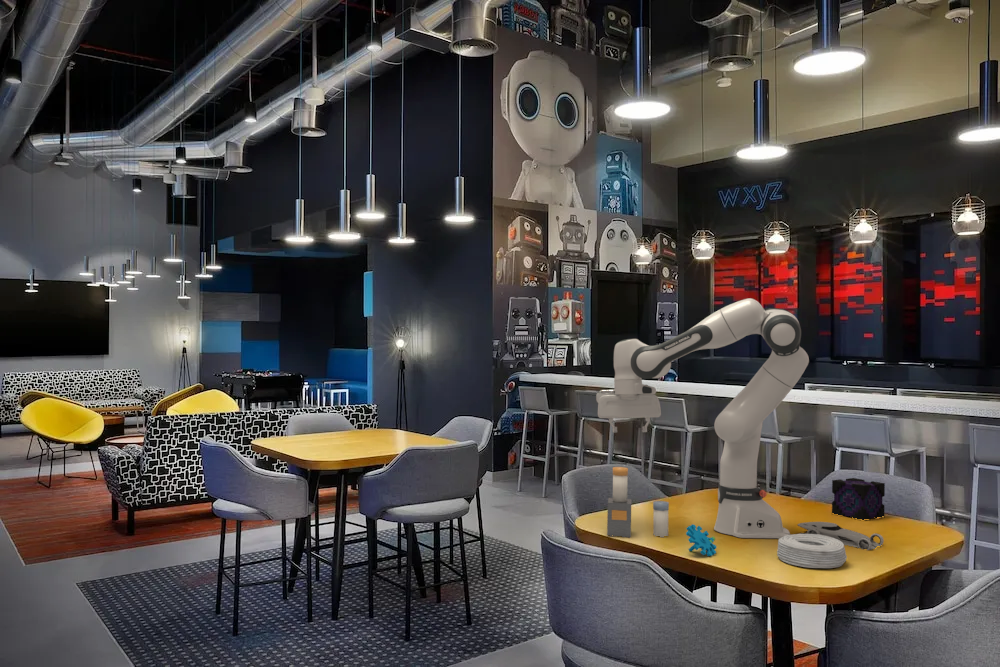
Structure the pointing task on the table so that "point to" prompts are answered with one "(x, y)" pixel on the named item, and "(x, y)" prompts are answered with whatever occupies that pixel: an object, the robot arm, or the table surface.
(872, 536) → the car model
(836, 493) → the energy cube
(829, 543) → the cable
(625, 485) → the orange cap canister
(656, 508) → the blue cap canister
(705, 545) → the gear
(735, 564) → the table surface
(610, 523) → the box
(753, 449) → the robot arm
